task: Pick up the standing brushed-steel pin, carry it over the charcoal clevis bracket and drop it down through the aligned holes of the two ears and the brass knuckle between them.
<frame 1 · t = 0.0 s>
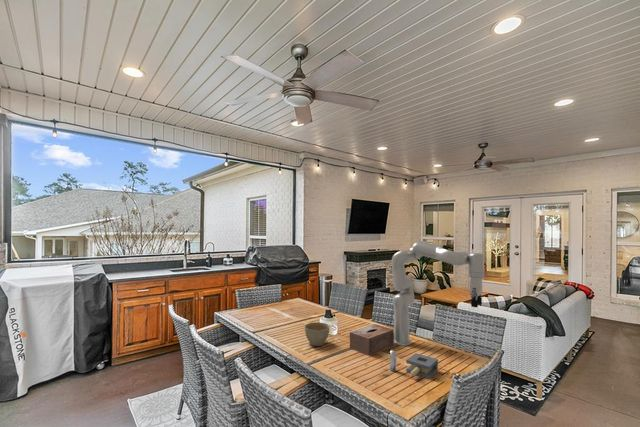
hand: (476, 305, 176), 31 cm above the table, tool pointing down, fingers open, 9 cm apart
clevis bracket: (422, 371, 161), on the table
planter bowl: (316, 343, 198), on the table
steel pin: (393, 370, 162), on the table
tissue box cover: (371, 347, 195), on the table
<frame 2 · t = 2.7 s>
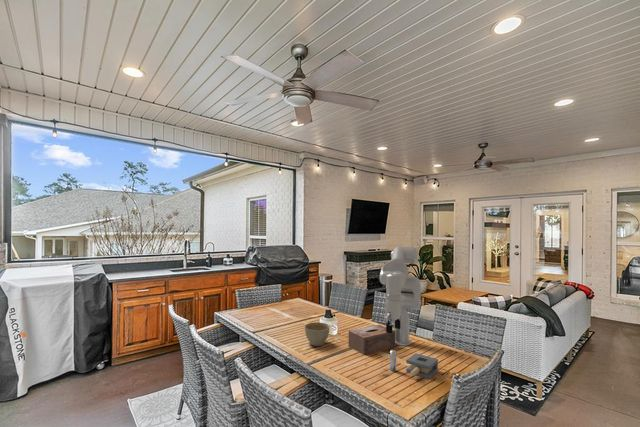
hand: (393, 330, 163), 20 cm above the table, tool pointing down, fingers open, 9 cm apart
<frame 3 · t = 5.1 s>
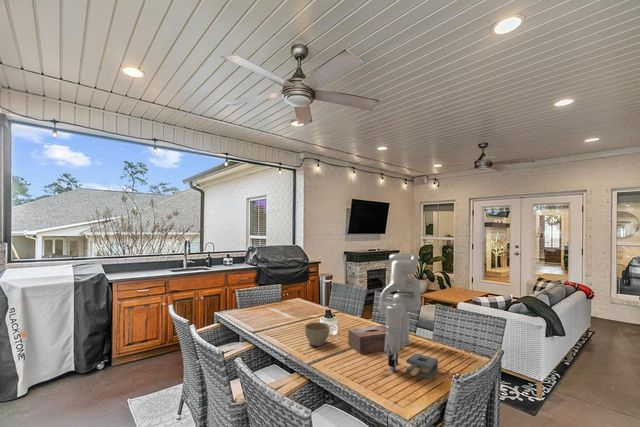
hand: (393, 365, 162), 3 cm above the table, tool pointing down, fingers closed on steel pin, 3 cm apart
steel pin: (393, 370, 162), on the table, touching gripper
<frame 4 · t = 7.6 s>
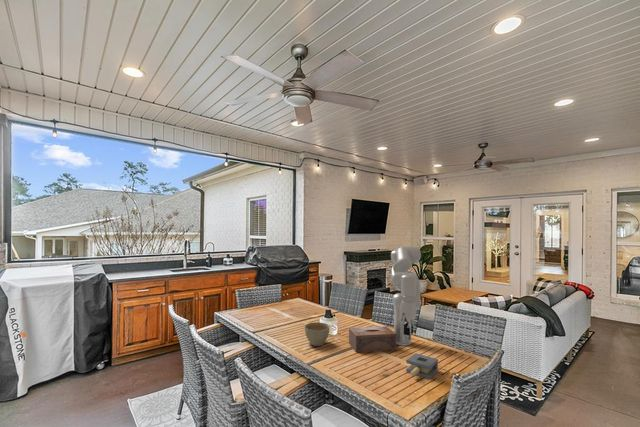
hand: (408, 333, 163), 19 cm above the table, tool pointing down, fingers closed on steel pin, 3 cm apart
steel pin: (408, 339, 163), point 16 cm above the table, touching gripper
when the fingers open (7 cm above the table, at t = 10.2 s): steel pin drops 4 cm, resting in clevis bracket.
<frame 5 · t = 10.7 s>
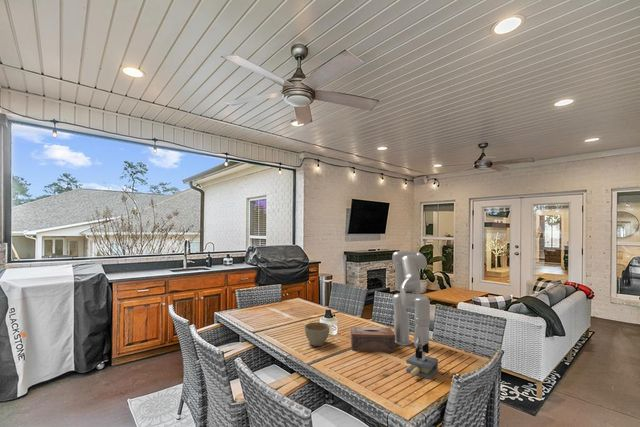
hand: (422, 355, 162), 8 cm above the table, tool pointing down, fingers open, 8 cm apart
steel pin: (422, 371, 161), resting in clevis bracket
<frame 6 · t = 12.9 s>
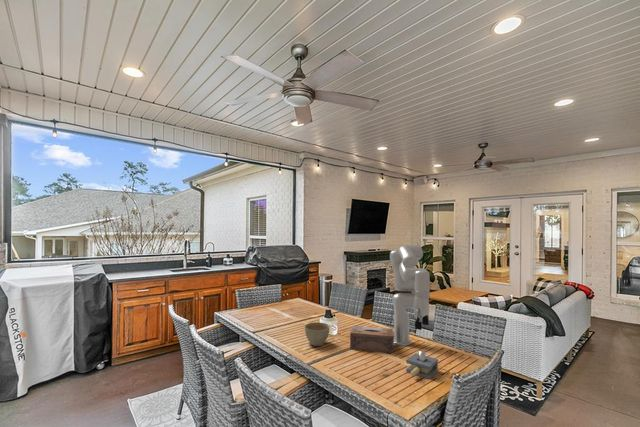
hand: (421, 326, 164), 22 cm above the table, tool pointing down, fingers open, 9 cm apart
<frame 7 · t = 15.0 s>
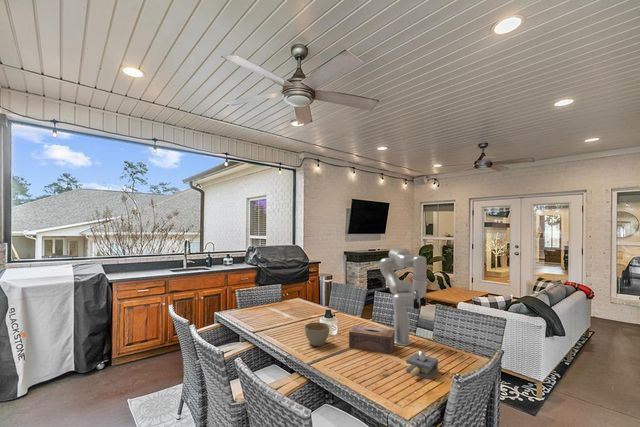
hand: (419, 307, 181), 28 cm above the table, tool pointing down, fingers open, 9 cm apart
at the end: steel pin 0.1 cm off-centre on the clevis bracket, point 0.0 cm above the clevis bracket's base; steel pin tilted 0°; the gripper is holding nothing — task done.
